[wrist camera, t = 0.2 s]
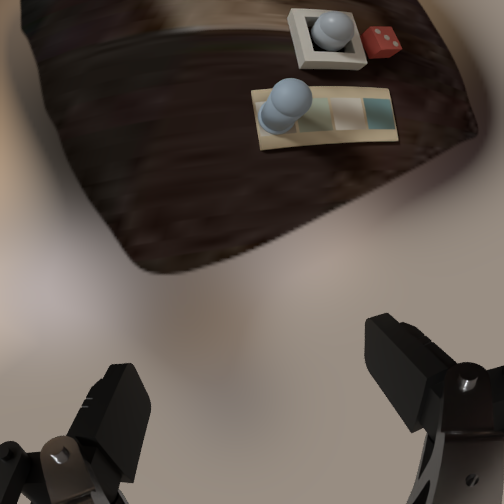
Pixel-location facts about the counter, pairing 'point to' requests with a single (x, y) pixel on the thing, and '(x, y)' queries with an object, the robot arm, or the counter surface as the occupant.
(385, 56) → the die
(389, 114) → the track
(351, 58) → the base
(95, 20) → the counter surface
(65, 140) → the counter surface
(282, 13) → the counter surface
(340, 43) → the light blue rounded piece
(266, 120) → the pawn
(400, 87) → the counter surface
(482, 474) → the robot arm
